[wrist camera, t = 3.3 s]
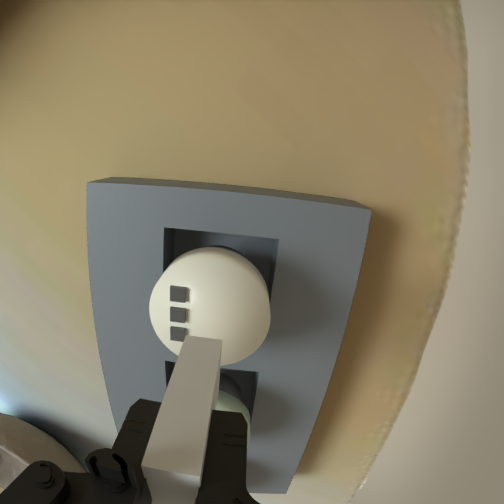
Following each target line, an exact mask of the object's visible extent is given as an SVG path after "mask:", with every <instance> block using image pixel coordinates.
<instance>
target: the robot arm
mask: <svg viewBox="0 0 504 504" xmlns="http://www.w3.org/2000/svg"><path fill="white" fill-rule="evenodd" d="M221 352H222V340H221V339H213V338H205V337H197V336H189V335H186V336H185V339H184V342H183V344H182V347H181V350H180V353H179V356H178V358H177V361H176V364H175V367H174V369H173V372H172V375H171V378H170V381H169V384H168V386H167V389H166V392H165V395H164V398H163V401H162V402H156V401H151V400H146V399H142V398H140V399H139V400H137V401H136V402H135V403H134V404H133V405H132V406H130V408H129V411H128V413H127V415H126V417H125V420H124V422H123V424H122V428H121V429H120V431H119V433H118V436H117V438H116V440H115V443H114V445H113V447H112V449H108V448H104V449H98V450H95V451H93V452H92V453H90V454H89V455H88V456H87V457H86V458H85V463H86V465H87V467H88V469H89V471H90V472H88V473H78V472H65V471H62V470H61V469H60V468H59V467H58V466H57V465H56V464H54V463H52V462H50V461H44V460H40V461H36V462H33V463H32V464H30V465H29V466H28V467H27V468H26V469H25V470H24V471H23V472H22V473H21V474H20V475H19V476H18V477H17V478H16V479H15V480H14V481H13V482H12V483H11V484H10V485H9V486H8V487H7V488H6V489H5V490H4V491H3V492H2V493H1V494H0V504H151V503H152V504H260V503H258V502H257V501H255V500H254V499H253V498H252V497H251V496H250V494H249V492H248V490H247V487H246V466H247V431H248V424H247V422H246V420H245V418H244V416H243V414H242V413H241V412H231V411H221V410H216V405H217V398H218V391H219V379H220V365H221Z"/></svg>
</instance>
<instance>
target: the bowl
mask: <svg viewBox="0 0 504 504" xmlns="http://www.w3.org/2000/svg"><path fill="white" fill-rule="evenodd" d="M40 460H44V461H50V462H52V463H54V464H56V465H57V466H58V467H59V468H60V469H61V470H62V471H65V472H78V473H87V472H86V471H85V469H84V468H83V467H82V465H81V464H80V463H79V462H78V461H77V460H76V458H75V457H73V456H72V454H71V453H70V452H69V451H68V450H67V449H66V448H65V447H64V446H63V445H61V444H60V443H59V442H58V441H57V440H55V439H54V438H53V437H51V436H50V435H48V434H47V433H45V432H43V431H42V430H40V429H38V428H36V427H35V426H33V425H31V424H29V423H27V422H25V421H23V420H21V419H18V418H16V417H13V416H10V415H6V414H2V413H0V487H2V488H3V489H6V488H7V487H8V486H9V485H10V484H11V483H12V482H13V481H14V480H15V479H16V478H17V477H18V476H19V475H20V474H21V473H22V472H23V471H24V470H25V469H26V468H27V467H28V466H29V465H30V464H32V463H33V462H36V461H40Z"/></svg>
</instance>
